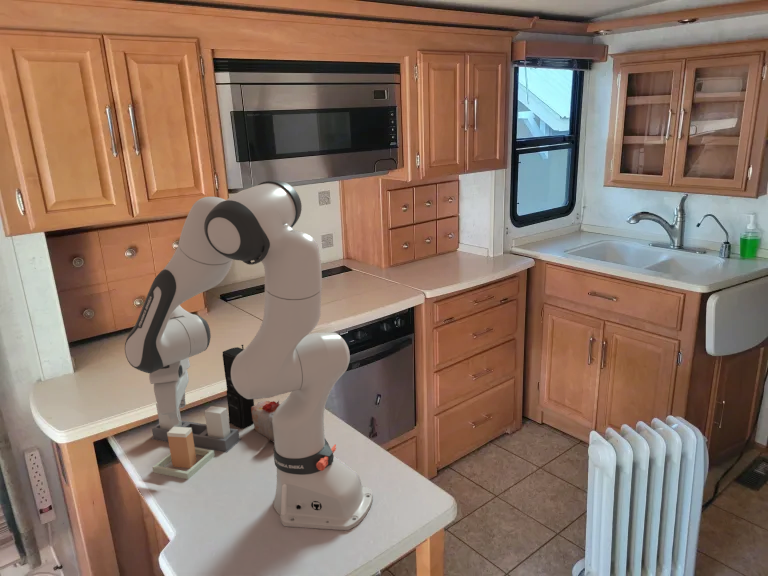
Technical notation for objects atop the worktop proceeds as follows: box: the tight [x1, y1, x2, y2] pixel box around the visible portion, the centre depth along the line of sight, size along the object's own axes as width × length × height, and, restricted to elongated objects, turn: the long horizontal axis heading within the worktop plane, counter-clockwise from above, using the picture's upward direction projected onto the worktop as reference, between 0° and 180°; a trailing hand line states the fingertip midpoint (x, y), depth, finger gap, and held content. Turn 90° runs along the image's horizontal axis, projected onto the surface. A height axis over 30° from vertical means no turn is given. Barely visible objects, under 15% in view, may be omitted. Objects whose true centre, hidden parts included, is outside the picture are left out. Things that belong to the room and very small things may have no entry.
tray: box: [152, 447, 216, 480], centre depth 144 cm, size 11×11×2 cm
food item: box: [251, 400, 281, 443], centre depth 157 cm, size 14×8×10 cm, turn 46°
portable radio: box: [222, 344, 255, 430], centre depth 161 cm, size 8×6×25 cm
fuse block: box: [150, 402, 242, 453], centre depth 155 cm, size 25×7×11 cm, turn 70°
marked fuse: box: [167, 427, 198, 469], centre depth 143 cm, size 5×3×10 cm, turn 79°
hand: (179, 415), depth 140 cm, fingers open, 8 cm apart
